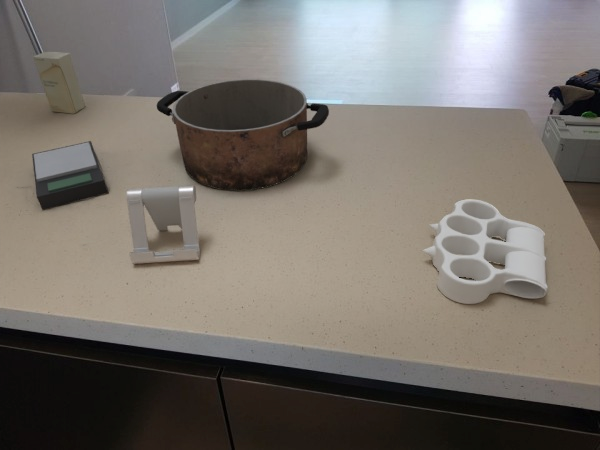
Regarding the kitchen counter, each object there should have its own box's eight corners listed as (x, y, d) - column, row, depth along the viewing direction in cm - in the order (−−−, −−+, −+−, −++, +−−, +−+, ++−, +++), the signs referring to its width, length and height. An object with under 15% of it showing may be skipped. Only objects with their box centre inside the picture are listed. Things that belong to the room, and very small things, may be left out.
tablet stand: (133, 267, 60) (116, 215, 55) (145, 230, 66) (130, 181, 61) (198, 262, 60) (187, 211, 55) (204, 227, 67) (195, 178, 62)
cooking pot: (340, 140, 88) (342, 86, 81) (308, 204, 71) (307, 141, 64) (200, 124, 95) (191, 73, 89) (140, 178, 78) (124, 120, 72)
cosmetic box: (51, 112, 102) (30, 56, 95) (63, 104, 106) (45, 50, 98) (75, 114, 101) (56, 58, 94) (87, 106, 104) (70, 52, 97)
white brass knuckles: (542, 324, 51) (410, 291, 55) (539, 230, 64) (433, 210, 68) (551, 303, 49) (414, 271, 53) (546, 211, 62) (436, 191, 66)
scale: (37, 166, 83) (30, 150, 81) (94, 152, 86) (89, 137, 84) (42, 210, 71) (35, 193, 69) (108, 192, 75) (103, 176, 73)
